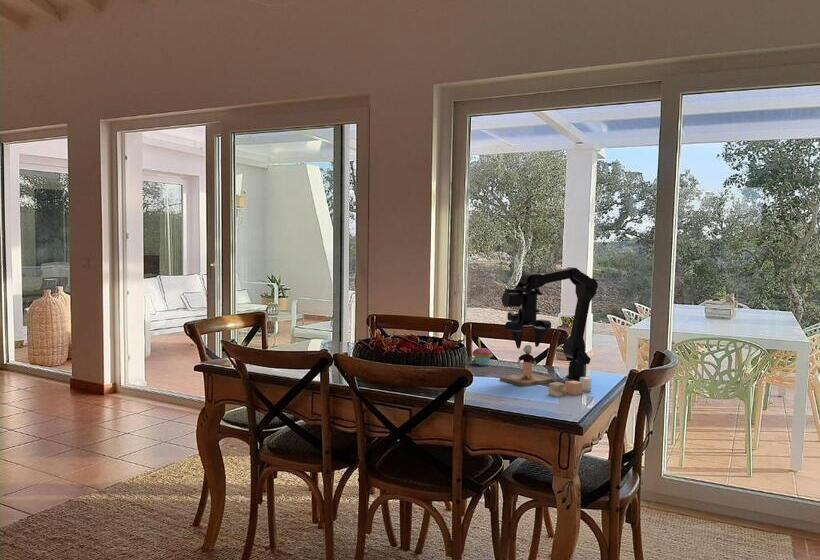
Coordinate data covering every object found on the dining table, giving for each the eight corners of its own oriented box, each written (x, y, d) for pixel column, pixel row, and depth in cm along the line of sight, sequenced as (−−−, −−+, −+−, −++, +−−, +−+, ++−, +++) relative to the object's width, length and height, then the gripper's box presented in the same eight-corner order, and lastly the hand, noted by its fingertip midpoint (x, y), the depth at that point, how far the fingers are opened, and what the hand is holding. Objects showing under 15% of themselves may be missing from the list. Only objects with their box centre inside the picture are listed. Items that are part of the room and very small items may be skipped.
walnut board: (531, 375, 257) (531, 372, 257) (553, 382, 247) (553, 378, 247) (500, 380, 249) (500, 376, 249) (521, 386, 239) (521, 383, 239)
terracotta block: (573, 391, 233) (573, 380, 233) (581, 393, 230) (582, 382, 230) (565, 392, 231) (565, 381, 231) (573, 395, 228) (573, 383, 228)
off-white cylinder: (584, 388, 238) (585, 376, 238) (593, 390, 235) (593, 378, 234) (577, 389, 236) (577, 377, 236) (585, 392, 233) (585, 379, 232)
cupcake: (471, 365, 275) (472, 337, 274) (473, 361, 283) (473, 334, 283) (492, 366, 274) (492, 338, 273) (492, 363, 282) (493, 335, 281)
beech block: (557, 393, 231) (557, 381, 230) (565, 395, 227) (565, 384, 227) (548, 394, 228) (549, 383, 228) (557, 396, 225) (557, 385, 225)
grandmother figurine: (537, 378, 248) (538, 345, 247) (535, 380, 245) (536, 346, 244) (518, 375, 251) (519, 343, 251) (515, 377, 248) (516, 344, 247)
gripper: (532, 303, 258) (531, 342, 259) (496, 305, 248) (494, 346, 249) (552, 306, 249) (551, 347, 250) (515, 308, 239) (514, 350, 240)
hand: (527, 347), depth 247 cm, fingers open, 9 cm apart
